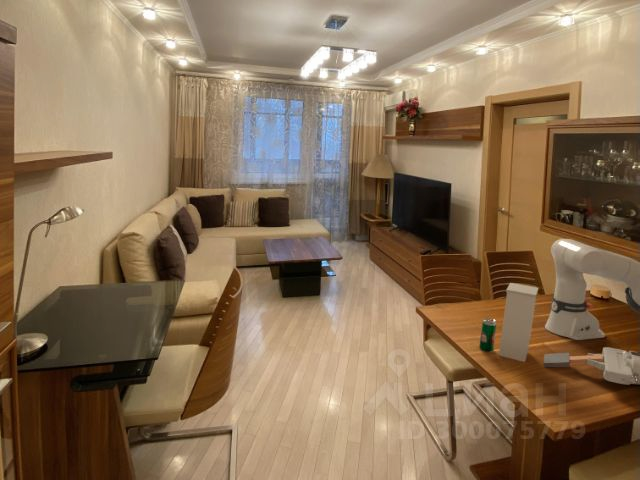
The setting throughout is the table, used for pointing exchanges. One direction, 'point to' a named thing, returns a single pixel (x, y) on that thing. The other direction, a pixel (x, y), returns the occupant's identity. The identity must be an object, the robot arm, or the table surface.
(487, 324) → the soda can
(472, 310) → the table surface
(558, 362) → the toy hammer
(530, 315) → the tall grey box
